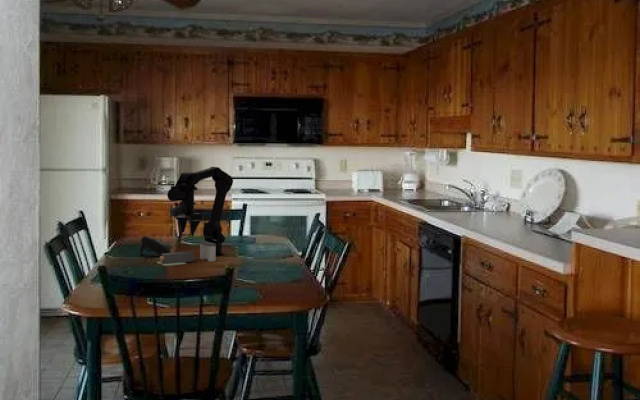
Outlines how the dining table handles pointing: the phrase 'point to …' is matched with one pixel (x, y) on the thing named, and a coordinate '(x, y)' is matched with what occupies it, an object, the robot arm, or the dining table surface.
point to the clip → (207, 251)
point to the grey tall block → (177, 257)
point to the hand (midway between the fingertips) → (187, 233)
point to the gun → (153, 246)
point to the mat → (171, 263)
